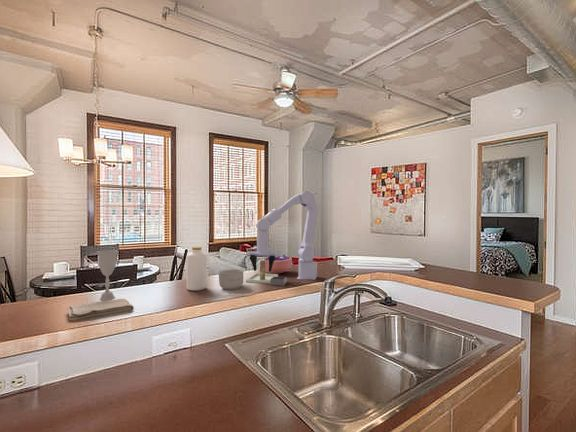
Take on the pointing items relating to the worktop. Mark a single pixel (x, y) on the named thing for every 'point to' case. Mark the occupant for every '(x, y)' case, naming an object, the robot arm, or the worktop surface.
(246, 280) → the tray
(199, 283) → the potion bottle
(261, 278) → the dowel
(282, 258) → the cell model
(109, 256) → the chalice
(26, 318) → the worktop surface
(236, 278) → the teacup
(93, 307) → the washcloth
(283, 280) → the grey square box
